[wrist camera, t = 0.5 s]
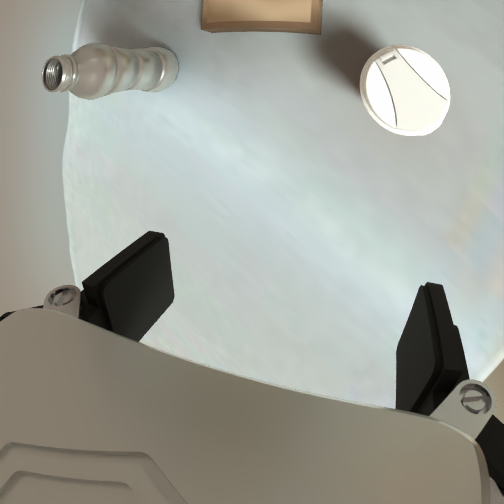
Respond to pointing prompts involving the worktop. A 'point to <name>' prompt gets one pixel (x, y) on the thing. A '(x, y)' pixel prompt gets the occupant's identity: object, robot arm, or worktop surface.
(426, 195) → the worktop surface
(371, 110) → the paper cup
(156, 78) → the plastic bottle
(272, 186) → the worktop surface
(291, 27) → the plinth
